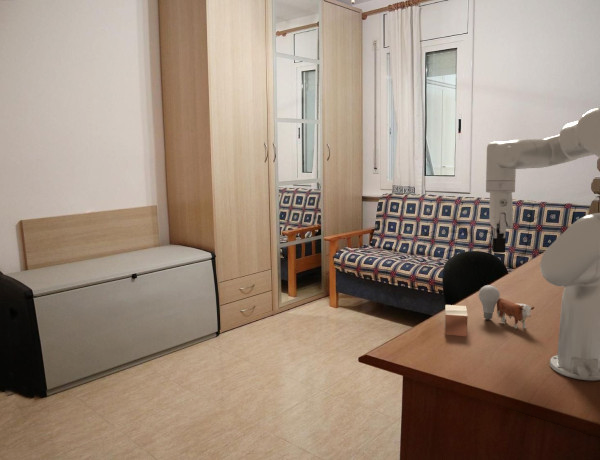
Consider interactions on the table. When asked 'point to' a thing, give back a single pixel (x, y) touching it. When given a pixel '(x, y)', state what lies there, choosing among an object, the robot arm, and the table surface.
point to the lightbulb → (489, 300)
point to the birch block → (456, 320)
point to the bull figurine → (513, 311)
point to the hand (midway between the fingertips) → (498, 251)
